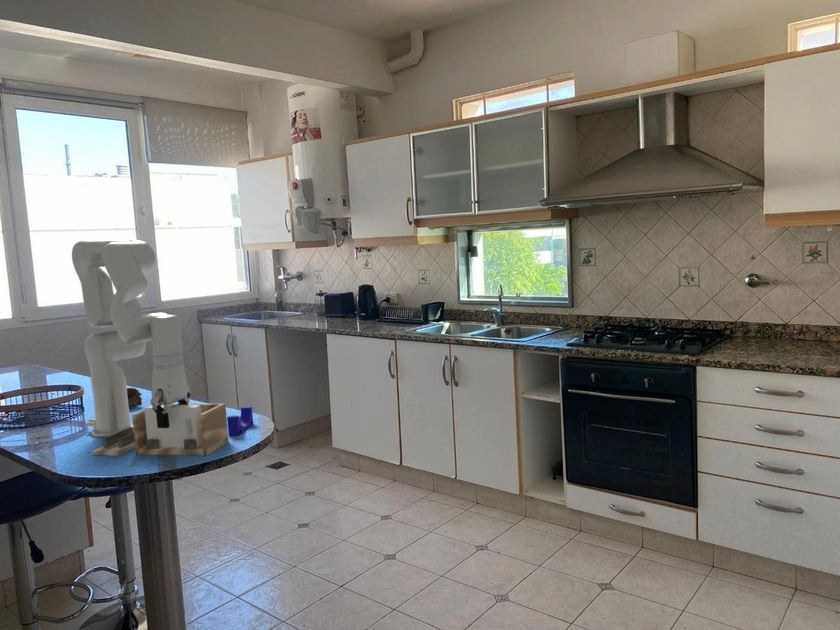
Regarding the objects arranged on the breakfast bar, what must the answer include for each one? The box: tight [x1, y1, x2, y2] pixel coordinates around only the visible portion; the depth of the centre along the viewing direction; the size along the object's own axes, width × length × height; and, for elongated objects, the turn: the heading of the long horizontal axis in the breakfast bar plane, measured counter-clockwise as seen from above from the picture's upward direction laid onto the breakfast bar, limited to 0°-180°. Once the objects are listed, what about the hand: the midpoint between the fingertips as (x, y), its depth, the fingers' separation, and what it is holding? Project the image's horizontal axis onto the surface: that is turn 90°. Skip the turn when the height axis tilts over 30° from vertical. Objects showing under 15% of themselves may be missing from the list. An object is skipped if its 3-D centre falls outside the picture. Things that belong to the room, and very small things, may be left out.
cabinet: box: [131, 403, 229, 456], centre depth 175 cm, size 21×12×11 cm, turn 79°
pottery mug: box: [127, 387, 143, 407], centre depth 229 cm, size 12×9×8 cm
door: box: [143, 404, 202, 448], centre depth 172 cm, size 15×4×11 cm, turn 79°
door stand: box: [92, 427, 135, 457], centre depth 181 cm, size 8×18×4 cm, turn 169°
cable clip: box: [226, 406, 254, 437], centre depth 191 cm, size 12×4×6 cm, turn 174°
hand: (173, 422), depth 172 cm, fingers open, 9 cm apart
